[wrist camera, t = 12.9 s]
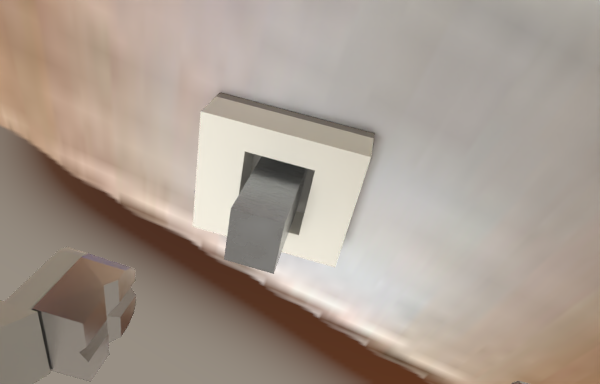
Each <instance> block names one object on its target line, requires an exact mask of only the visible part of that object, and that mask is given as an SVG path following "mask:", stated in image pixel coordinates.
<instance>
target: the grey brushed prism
mask: <svg viewBox="0 0 600 384" xmlns="http://www.w3.org/2000/svg"><path fill="white" fill-rule="evenodd" d="M306 173H307V168H304V167H300V166H296V165H293V164H289V163H285V162H282V161H278V160H275V159H271V158H267V157H264V156H262V157H261V158H260V160H259V162H258V163H257V165H256V167H255V168H254V170H253V172H252V173H251V175H250V177H249V179H248V180H247V182H246V184H245V185H244V187H243V189H242V190H241V192H240V194H239V195H238V197H237V199H236V200H235V202H234V204H233V206H232V207H231V211H230V218H229V226H228V234H227V242H226V249H225V257H224V259H225V260H228V261H232V262H235V263H238V264H242V265H245V266H249V267H252V268H256V269H259V270H263V271H266V272H270V273H273V274H274V271H275V269H276V266H277V263H278V260H279V258H280V255H281V252H282V249H283V247H284V244H285V241H286V238H287V236H288V233H289V230H290V227H291V225H292V222H293V219H294V216H295V214H296V211H297V208H298V205H299V202H300V198H301V194H302V190H303V185H304V181H305V177H306Z"/></svg>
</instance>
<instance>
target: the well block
mask: <svg viewBox="0 0 600 384" xmlns="http://www.w3.org/2000/svg"><path fill="white" fill-rule="evenodd" d="M373 141H374V133H371V132H367V131H363V130H359V129H356V128H352V127H348V126H344V125H341V124H337V123H333V122H329V121H325V120H322V119H318V118H314V117H310V116H307V115H303V114H299V113H295V112H292V111H288V110H284V109H280V108H277V107H273V106H269V105H265V104H261V103H258V102H254V101H250V100H246V99H243V98H239V97H235V96H231V95H228V94H224V93H219V94H218V95H217V96H216V97H215V98H214V99H213V100H212V101H211V102H210V103H209V104H208V105H207V106H206V107H205V108H204V109H203V110H202V111H201V115H200V129H199V143H198V157H197V172H196V186H195V200H194V214H193V227H196V228H199V229H203V230H206V231H210V232H213V233H217V234H220V235H224V236H227V234H228V226H229V218H230V211H231V207H232V206H233V204H234V202H235V200H236V199H237V197H238V195H239V194H240V192H241V190H242V189H243V187H244V185H245V184H246V182H247V180H248V179H249V177H250V175H251V173H252V172H253V170H254V168H255V167H256V165H257V163H258V162H259V160H260V158H261V157H262V156H264V157H267V158H271V159H275V160H278V161H282V162H285V163H289V164H293V165H296V166H300V167H304V168H307V173H306V177H305V181H304V185H303V190H302V194H301V198H300V202H299V205H298V208H297V211H296V214H295V216H294V219H293V222H292V225H291V227H290V230H289V233H288V236H287V238H286V241H285V244H284V247H283V249H282V252H283V253H287V254H290V255H294V256H297V257H300V258H304V259H307V260H311V261H314V262H318V263H321V264H325V265H328V266H332V267H335V266H336V263H337V260H338V257H339V254H340V251H341V248H342V245H343V242H344V239H345V236H346V233H347V230H348V227H349V224H350V221H351V218H352V214H353V211H354V208H355V205H356V202H357V199H358V196H359V193H360V190H361V187H362V184H363V181H364V178H365V175H366V172H367V169H368V166H369V163H370V160H371V156H372V148H373Z"/></svg>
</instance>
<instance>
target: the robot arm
mask: <svg viewBox="0 0 600 384" xmlns="http://www.w3.org/2000/svg"><path fill="white" fill-rule="evenodd" d="M135 280H136V277H135V269H134V268H131V267H129V266H125V265H122V264H119V263H116V262H113V261H110V260H107V259H104V258H101V257H98V256H95V255H91V254H88V253H85V252H81V251H78V250H75V249H72V248H69V247H65V248H62V249H60V250H58V251H57V252H56V253H55V254H54V255H53V256H52V257H51V258H49V260H47V261H46V262H45V263H44V264H43V265H42V266H41V267H40V268H39V269H38V270H37V271H36V272H35V273H34V274H33V275H32V276H31V277H30V278H29V279H28V280H27V281H25V282H24V283H23V284H22V285H21V286H20V287H19V288H18V289H17V290H16V291H15V292H14V293H13V294H12V295H11V296H10V297H9V298H8V299H7V300H6V301H2V300H0V384H34V383H35V382H37V381H39V380H40V379H42V378H44V377H45V376H47V375H48V374H50V371H54V372H57V373H61V374H65V375H68V376H72V377H75V378H79V379H83V380H86V381H89V382H91V381H92V379H93V378H94V376H95V375H96V373H97V372H98V370H99V369H100V367H101V366H102V364H103V363H104V362H105V360H106V359H107V357H108V356H109V343H110V342H112V341H114V340H116V339H118V338H120V337H121V336H122V335H123V333H124V332H125V330H126V329H127V327H128V325H129V323H130V321H131V318H132V316H133V314H134V310H135V306H136V294H135V293H134V291H133V290H132V288H131V286H132V285H133V283H134V282H135ZM512 384H528V383H525V382H521V381H516V382H514V383H512Z"/></svg>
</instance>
